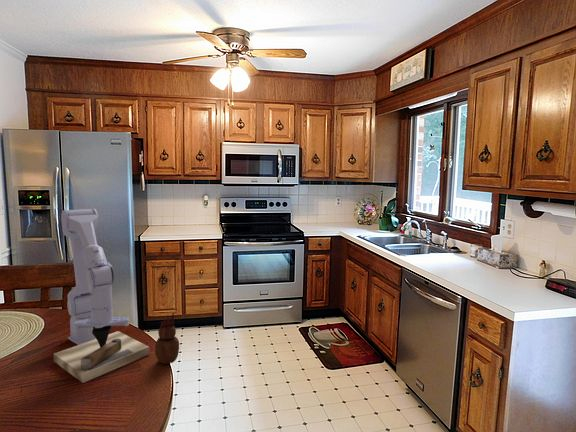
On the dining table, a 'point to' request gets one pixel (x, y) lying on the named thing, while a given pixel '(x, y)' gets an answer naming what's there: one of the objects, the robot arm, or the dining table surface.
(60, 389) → the dining table surface
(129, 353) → the maple seat
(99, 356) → the walnut leg
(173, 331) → the wooden figurine
